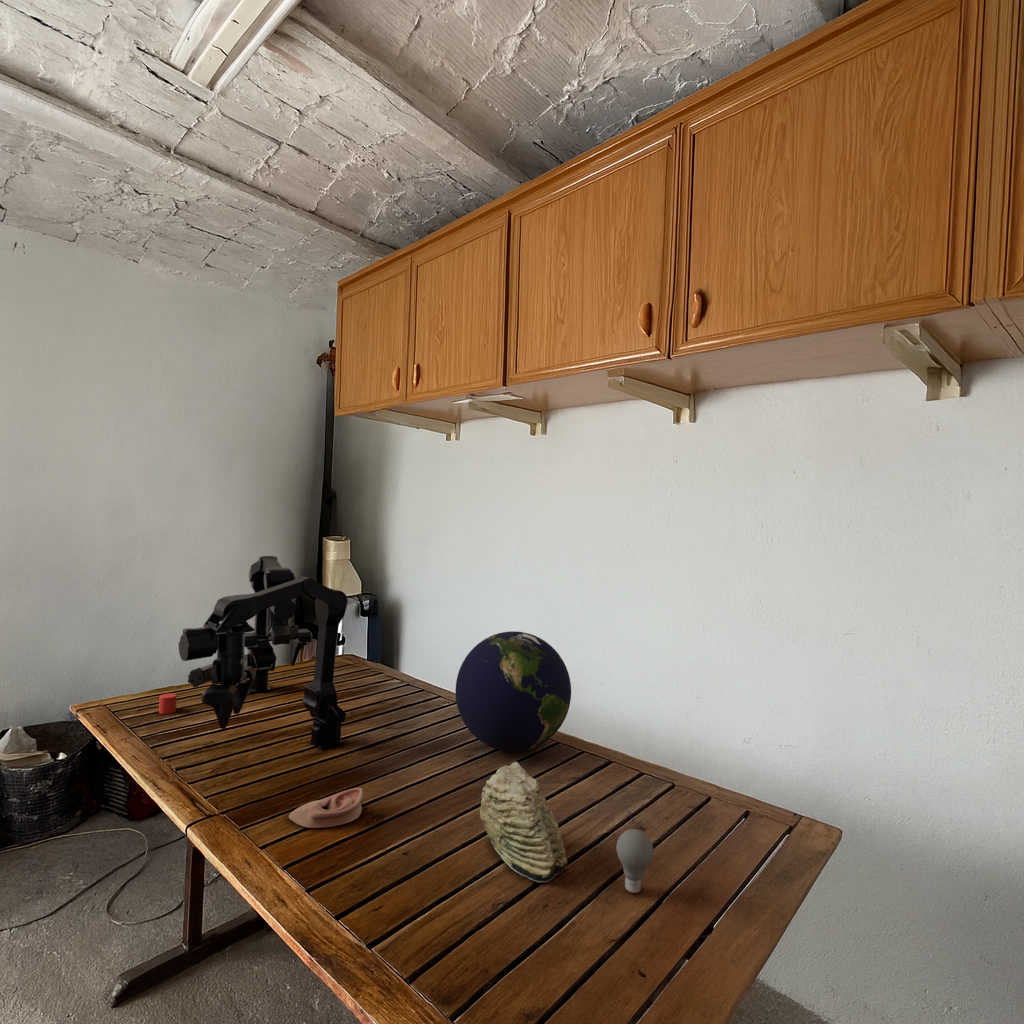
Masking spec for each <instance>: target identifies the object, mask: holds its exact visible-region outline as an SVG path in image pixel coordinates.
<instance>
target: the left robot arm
mask: <svg viewBox="0 0 1024 1024" xmlns="http://www.w3.org/2000/svg"><path fill="white" fill-rule="evenodd" d="M295 579H297V577H296V576H295V573H294V572H292V569H291V568H289V567H284V566H283V567H282V565H281V563H280V562H279V561H278V556H275V555H262V556H259V557H258V560H257V561H255V562H253V564H251V565H250V567H249V572H248V582H249V583H250V587H251V589H252V591H253V593H256V592H259V591H262V590H265V589H268V588H271V587H274V586H277V585H280V584H283V583H286V582H289V581H292V580H295ZM296 611H297V606H296V603H295V601H293V599H292V600H289V601H286V602H283V603H281V604H278V605H275V606H272V607H269V608H266V609H264V610H262V611H260V612H258V613H257V614H256V615H255V616H254V625H253V628H254V631H253V632H246V633H245V649H246V650H247V653H246V654H245V655H247V659H246V660H245V661H244V666H252V667H253V668H254V669H255V670H256V678H255V679H254V682H253V684H252V686H251V688H250V690H249V692H248V694H254V693H255V694H257V693H263V692H264V693H265V692H270V691H271V690H272V689H271V687H270V686H269V672H274V671H275V670H276V662H277V658H278V656H276V653H275V651H274V647H273V646H278V645H290V644H291V641H292V648H291V658H290V665H291V667H294V666H295V664H296V661H297V658H298V656H299V653H300V652H301V650H302V648H303V647H305V646H307V645H308V643H313V633H312V632H311V631H310V630H309V629H308V628H299V626H298V624H294V625H290V624H289V620H290V619H291V618H292V617H294V615H295V614H296ZM270 642H271V643H270ZM248 680H250V679H249V678H248Z"/></svg>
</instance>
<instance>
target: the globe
mask: <svg viewBox="0 0 1024 1024" xmlns="http://www.w3.org/2000/svg"><path fill="white" fill-rule="evenodd" d="M462 661H463V662H462V663H461V664H460V667H459V670H458V673H457V676H456V680H455V692H454V693H455V701H456V708H457V710H458V714H459V716H460V718H461V721H462V722H463V724H464V725H465V728H467V730H468V731H469V732H470V734H471V735H473V736H474V737H475V738H476V739H477V740H478V741H480V742H481V743H483V744H484V745H486V746H487V747H490V748H492V749H494V750H498V751H502V752H509V753H515V752H516V753H518V752H524V751H529V750H532V749H535V748H537V747H539V746H542V745H543V744H544V743H546V742H547V741H549V740H550V739H551V738H552V737H553V736H554V735H555V734H556V733H557V732H558V731H559V729H560V728H561V727H562V725H563V723H564V722H565V720H566V718H567V715H568V713H569V709H570V705H571V701H572V681H571V678H570V674H569V670H568V668H567V666H566V664H565V662H564V660H563V658H562V656H561V655H560V654H559V652H558V651H557V650H556V649H555V648H554V647H553V646H552V645H550V643H549V642H547V641H546V640H544V639H542V638H541V637H539V636H537V635H534V634H531V633H528V632H525V631H517V630H516V631H515V630H513V631H502V632H499V633H495V634H492V635H490V636H488V637H486V638H484V639H483V640H481V641H479V643H477V644H476V645H475V646H473V648H472V649H471V650H470V651H469V652H468V654H466V657H465V658H464V659H463V660H462Z"/></svg>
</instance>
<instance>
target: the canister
mask: <svg viewBox="0 0 1024 1024" xmlns="http://www.w3.org/2000/svg"><path fill="white" fill-rule="evenodd" d="M177 695H178V694H176V693H172V692H171V693H164V694H160V695H159V701H158V713H159V714H161V715H170V714H173V713H176V711H177V698H178V697H177Z"/></svg>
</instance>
